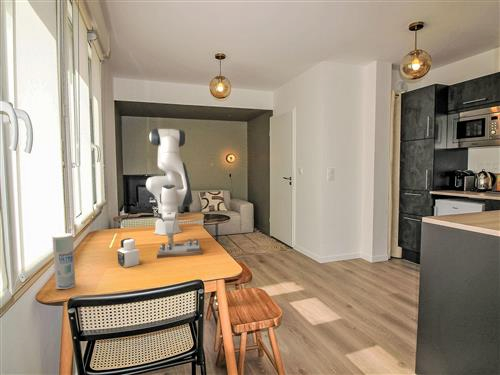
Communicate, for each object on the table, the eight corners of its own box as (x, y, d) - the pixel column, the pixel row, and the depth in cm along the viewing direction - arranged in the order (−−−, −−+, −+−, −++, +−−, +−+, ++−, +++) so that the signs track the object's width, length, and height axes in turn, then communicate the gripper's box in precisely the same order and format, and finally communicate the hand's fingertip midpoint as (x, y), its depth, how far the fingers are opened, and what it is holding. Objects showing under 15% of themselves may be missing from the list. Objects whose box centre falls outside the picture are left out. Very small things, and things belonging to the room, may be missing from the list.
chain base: (158, 251, 156) (158, 248, 156) (200, 248, 161) (200, 246, 161) (156, 258, 145) (156, 255, 145) (201, 254, 150) (201, 251, 150)
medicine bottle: (117, 264, 136) (116, 239, 135) (132, 260, 142) (131, 236, 141) (124, 268, 132) (123, 242, 131) (139, 264, 137) (138, 239, 136)
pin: (168, 247, 165) (167, 229, 164) (173, 246, 166) (173, 229, 165) (168, 248, 162) (167, 230, 161) (173, 248, 163) (173, 230, 162)
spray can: (58, 291, 107) (55, 238, 106) (53, 287, 112) (50, 235, 110) (78, 286, 112) (75, 234, 111) (72, 281, 117) (69, 232, 115)
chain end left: (160, 249, 154) (160, 243, 154) (186, 248, 157) (186, 241, 157) (159, 253, 148) (159, 246, 147) (186, 251, 150) (186, 245, 150)
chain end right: (173, 248, 156) (172, 239, 155) (198, 247, 159) (198, 238, 158) (172, 252, 149) (172, 243, 149) (199, 250, 152) (199, 241, 151)
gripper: (165, 211, 172) (166, 234, 173) (162, 217, 152) (163, 243, 153) (176, 211, 173) (177, 234, 174) (175, 216, 153) (176, 242, 154)
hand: (170, 238), depth 163 cm, fingers open, 6 cm apart
